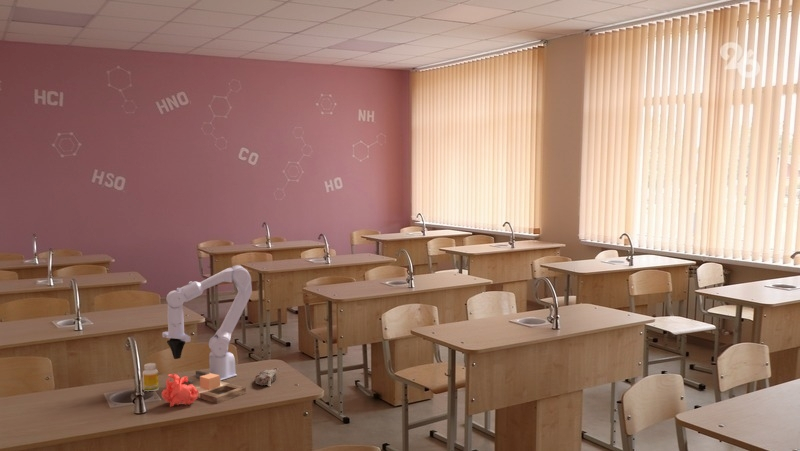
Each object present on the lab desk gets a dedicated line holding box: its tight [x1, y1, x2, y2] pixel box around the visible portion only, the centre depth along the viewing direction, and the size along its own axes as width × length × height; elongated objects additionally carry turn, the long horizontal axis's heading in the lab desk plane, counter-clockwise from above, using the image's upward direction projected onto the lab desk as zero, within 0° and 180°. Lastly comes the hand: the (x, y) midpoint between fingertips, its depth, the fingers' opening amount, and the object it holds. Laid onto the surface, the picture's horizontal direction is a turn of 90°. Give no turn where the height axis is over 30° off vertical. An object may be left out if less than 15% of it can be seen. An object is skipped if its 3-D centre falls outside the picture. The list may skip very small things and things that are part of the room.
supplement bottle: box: [142, 362, 160, 392], centre depth 249 cm, size 5×5×10 cm
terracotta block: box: [200, 372, 220, 390], centre depth 246 cm, size 5×5×4 cm
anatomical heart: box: [161, 373, 199, 408], centre depth 233 cm, size 9×12×12 cm
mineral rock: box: [254, 369, 277, 387], centre depth 257 cm, size 15×8×4 cm, turn 172°
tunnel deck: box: [179, 370, 247, 404], centre depth 247 cm, size 13×28×4 cm, turn 54°
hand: (177, 358), depth 257 cm, fingers closed
